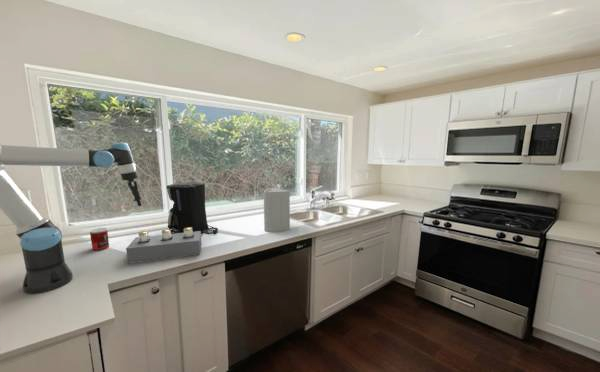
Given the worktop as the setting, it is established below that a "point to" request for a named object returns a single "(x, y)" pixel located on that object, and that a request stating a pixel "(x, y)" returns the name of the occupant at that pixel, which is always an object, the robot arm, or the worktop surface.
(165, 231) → the knob middle
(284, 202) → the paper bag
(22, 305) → the worktop surface
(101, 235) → the canned food
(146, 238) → the knob near
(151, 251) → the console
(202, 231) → the coffee maker
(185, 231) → the knob far
